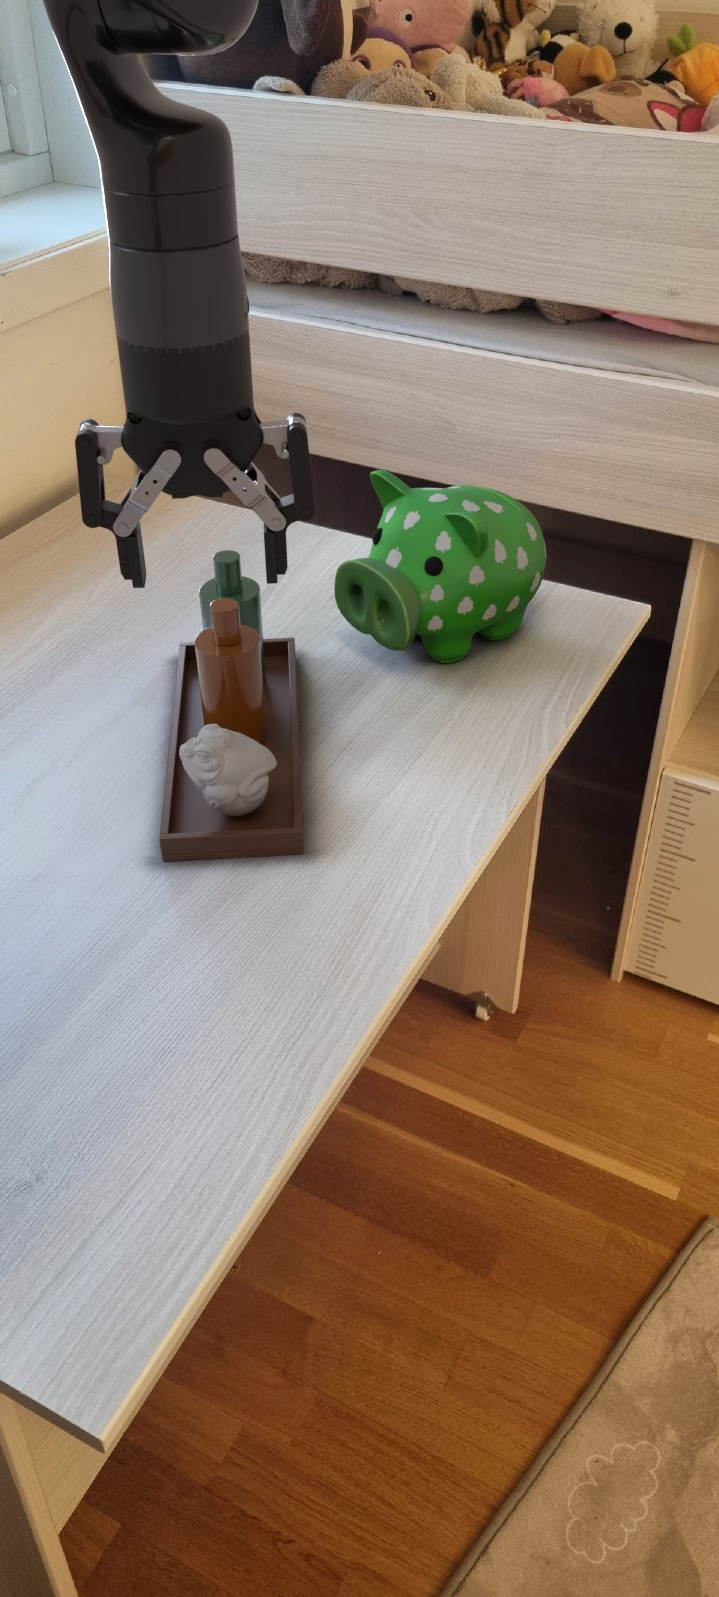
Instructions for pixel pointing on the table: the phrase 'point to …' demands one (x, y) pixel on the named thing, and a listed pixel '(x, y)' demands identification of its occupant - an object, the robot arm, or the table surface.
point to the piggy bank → (443, 568)
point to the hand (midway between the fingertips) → (206, 580)
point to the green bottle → (234, 595)
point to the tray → (279, 817)
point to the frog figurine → (228, 769)
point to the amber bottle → (231, 672)
